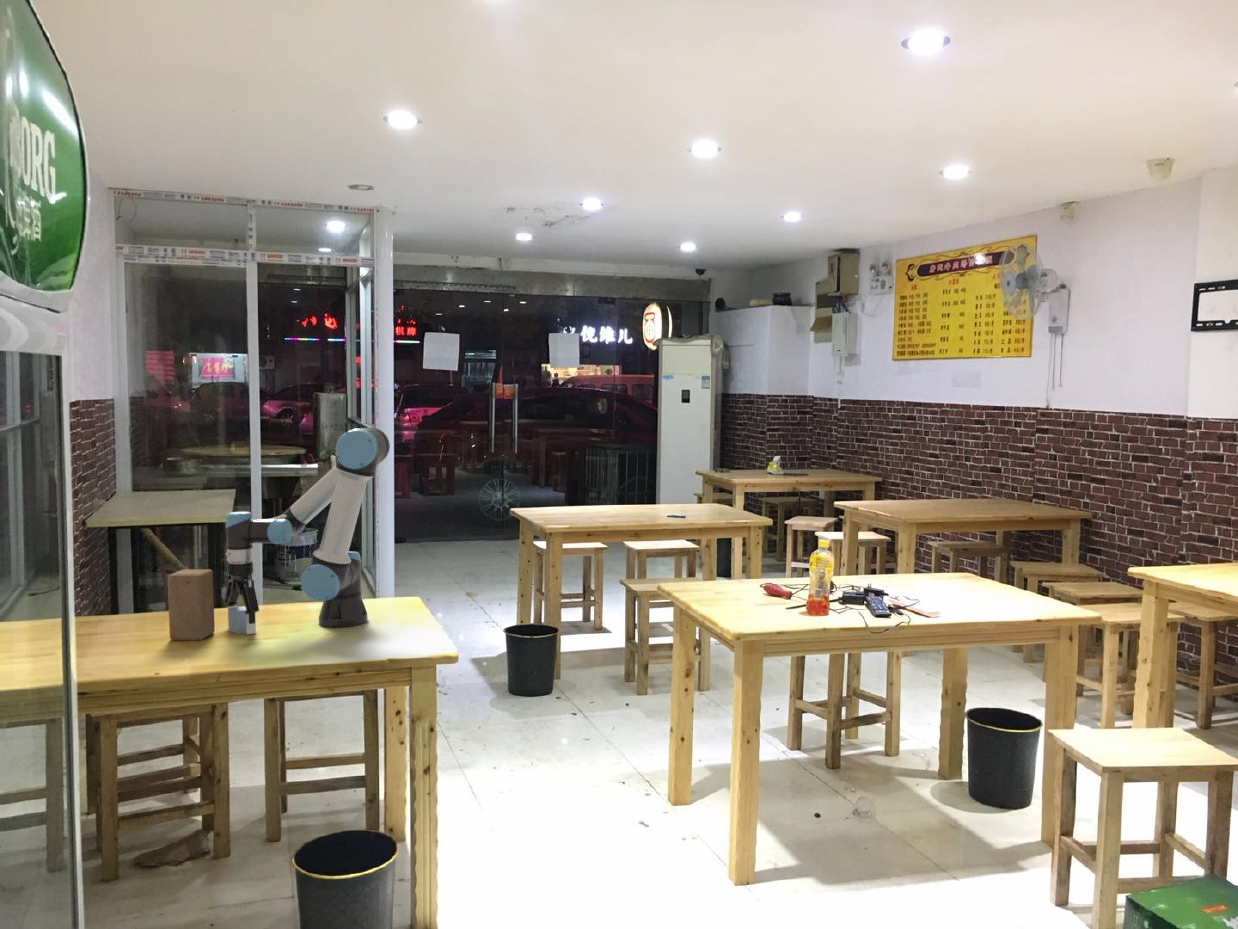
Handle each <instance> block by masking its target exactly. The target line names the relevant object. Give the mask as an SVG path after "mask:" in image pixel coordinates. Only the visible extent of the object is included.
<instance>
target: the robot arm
mask: <svg viewBox="0 0 1238 929" xmlns="http://www.w3.org/2000/svg"><path fill="white" fill-rule="evenodd" d="M390 444H391V443H390V440H389V437H388V436H387V434H386V433H385V432H384V431H382V430H381V429H380V428H376V427H363V428H361V427H359V428H357V427H356V428H352V429H350V430H348V431H346V432H344V433H343V434H342V435H341V436H340V437H339V438H338V440H337V443H336V446H335V455H336V458H337V460H336V465H334V466H333V467H332V468H331V469H329V471H328V472H326V474H324V475H323V476H322V477H321V478H320V479H319V480H318V481H317V482H316V483H314V485H313V486H311V487H310V488H309V489H308V490H307V491H306V492H305V493H304V494H303V495H301V496H300V498H299V499H297V500H296V501H295V502H294V503H293V504H292V505H291V506H290V507H289V508H288V509H286V511H284V512H283V513H282V514H280V515H277V516H274V517H271V518H253V514H252V512H250V511H232V512H228V513H227V514H226V517H225V533H226V534H225V538H226V553H225V556H226V561H227V562H228V563H227V564H226V570H227V571H226V572H227V573H226V574H227V577H226V578H227V579H226V580H227V582H226V587H225V588H226V589H225V593H224V599H223V600H224V601H223V602H224V603H225V604H226V606H227V610H228V609H229V608H235V607H238V599H239V596H241V598H242V601H243V604H244V606H245V607H246V610H247V611H246V612H245V614H246V633H245V634H246V636H247V635H253V634H256V633H257V629H256V628H257V624H256V621H257V620H256V613H257V612H259V611H260V607H259V603H258V598H257V594H256V589H255V580H254V579H249V576H250V575H252V574H254V562H253V560H254V549H253V544H275V545H279V544H287V543H289V542H290V540H291V538H294V537H295V536H297V535H299V534H300V533H301V532H303V530H304V529H305V526H306V525H307V524H308V523H309V522H310V521H311V520H313V518H316V516H317V515H318V514H319V513H320V512H321V511H322V510H324V509H325V508H326V507H327V506H328V505H329V504H330V503H331V504H330V507H329V510H328V515H327V519H326V522H325V527H324V530H323V533H322V536H321V537H322V538H321V542H320V546H319V548H318V549H316V550H314V551H313V552H312V555H311V560H310V562H309V566H307V567H306V568H305V570H304V571H303V572H302V574H301V578H300V584H301V587H302V590H303V591H304V593H305V595H306V596H307V597H309V598H310V599H312V600H313V601H317V602H322V606H321V609H320V611H319V615H318V624H319V625H320V626H322V627H329V628H330V627H331V628H344V627H345V628H346V627H347V628H348V627H354V626H359V625H362V624H365V623H367V622H368V612H367V609H366V606H365V603H364V600H363V598H362V559H361V554H360V552H359V551H349V550H350V547H351V544H352V541H353V540H352V539H353V536H354V533H355V528H356V525H357V520H358V517H359V514H360V511H361V506H362V502H363V499H364V495H365V491H366V487H367V483H368V481H369V480H371V479H373V478H374V477H375V474H376V470H377V466H378V465H379V464H380V463H382V462H383V461H384V460H386V458H387V457H388V455H389V452H390V448H391V447H390V446H391V445H390ZM227 626H228V628H229V625H227Z"/></svg>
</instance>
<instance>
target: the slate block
mask: <svg viewBox="0 0 1238 929" xmlns="http://www.w3.org/2000/svg"><path fill="white" fill-rule="evenodd" d="M246 611H247V610H246V607H245V605H243V606H237V607H235V608H229V609H228V608H227V622H228V623H227V624H228V625H229V627H228V632H230V633H233V634H237V635H238V634H239V635H240V634H246V614H245V612H246ZM228 625H227V626H228Z"/></svg>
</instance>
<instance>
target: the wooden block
mask: <svg viewBox="0 0 1238 929" xmlns="http://www.w3.org/2000/svg"><path fill="white" fill-rule="evenodd" d="M213 572H214V571H213V570H212V569H209V568H207V569H205V568H204V569H203V568H202V569H201V568H200V569H199V568H196V569H193V568H192V569H189V568H188V569H186V568H185V569H180V570H178V571H176V572H173V573H171V574H168V576H167V592H168V593H167V594H168V595H167V597H168V619H169V620H168V621H169V622H168V623H169V624H168V625H169V639H170V641H171V640H172V641H202V640H204V639H205V638H207V637H209V636H210V635H213V634H214V633H215V627H216V626H215V603H214V602H215V601H214V600H215V599H214V573H213Z"/></svg>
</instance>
